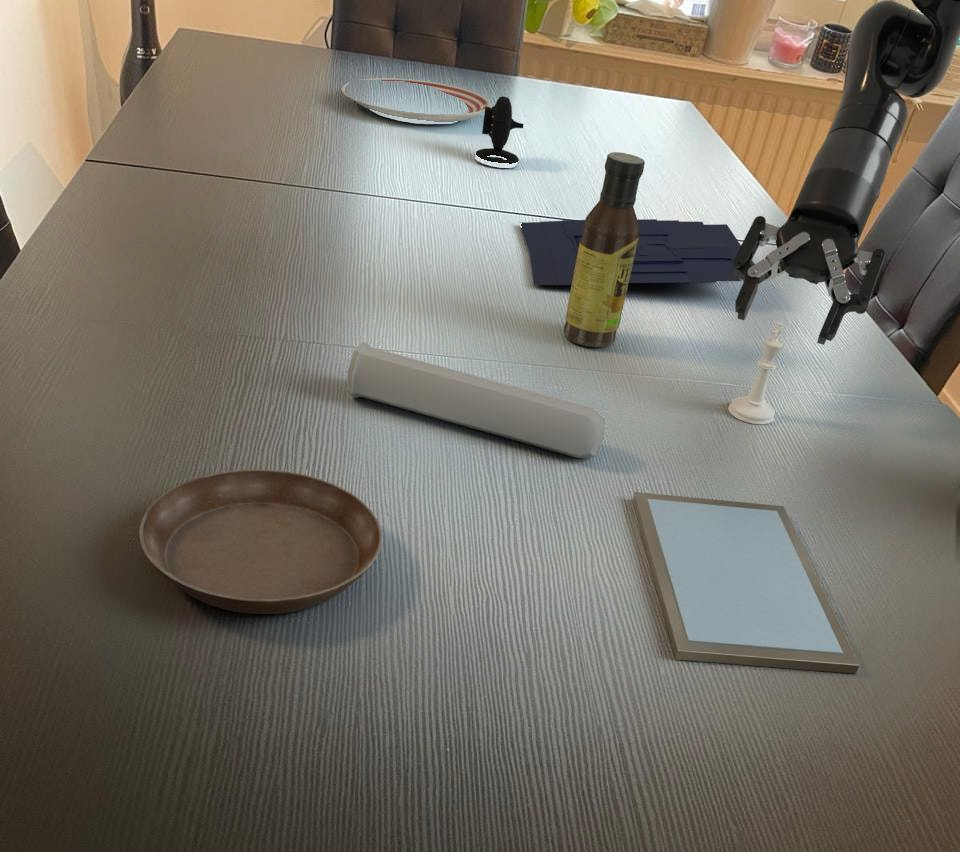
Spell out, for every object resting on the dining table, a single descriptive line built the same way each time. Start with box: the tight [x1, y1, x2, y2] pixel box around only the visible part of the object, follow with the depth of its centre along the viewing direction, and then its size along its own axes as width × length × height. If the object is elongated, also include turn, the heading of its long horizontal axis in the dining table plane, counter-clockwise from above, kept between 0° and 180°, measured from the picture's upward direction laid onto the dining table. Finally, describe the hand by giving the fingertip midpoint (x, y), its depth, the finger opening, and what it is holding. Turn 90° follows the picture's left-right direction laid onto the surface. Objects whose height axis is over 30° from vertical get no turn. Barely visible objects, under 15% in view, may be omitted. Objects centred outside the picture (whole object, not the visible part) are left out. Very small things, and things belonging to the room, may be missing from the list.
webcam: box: [475, 96, 524, 164], centre depth 168 cm, size 8×8×10 cm
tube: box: [346, 342, 605, 460], centre depth 97 cm, size 5×5×25 cm
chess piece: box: [727, 322, 786, 425], centre depth 106 cm, size 5×5×10 cm
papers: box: [520, 218, 756, 286], centre depth 139 cm, size 24×30×4 cm
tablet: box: [632, 491, 860, 675], centre depth 84 cm, size 14×22×1 cm, turn 2°
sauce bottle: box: [563, 151, 646, 348], centre depth 113 cm, size 6×6×20 cm
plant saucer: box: [138, 468, 383, 615], centre depth 77 cm, size 18×18×3 cm
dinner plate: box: [341, 77, 492, 122], centre depth 189 cm, size 27×27×3 cm
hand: (780, 328), depth 105 cm, fingers open, 8 cm apart
